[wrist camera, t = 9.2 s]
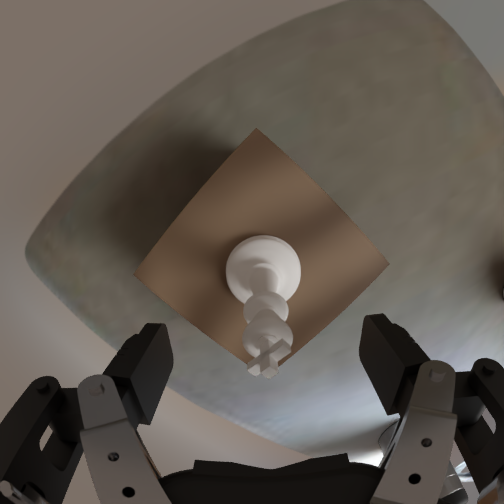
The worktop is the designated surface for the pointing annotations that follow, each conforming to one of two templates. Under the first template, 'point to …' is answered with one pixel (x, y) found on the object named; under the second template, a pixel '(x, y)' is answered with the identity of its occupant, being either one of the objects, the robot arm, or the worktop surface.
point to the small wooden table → (254, 224)
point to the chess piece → (264, 298)
